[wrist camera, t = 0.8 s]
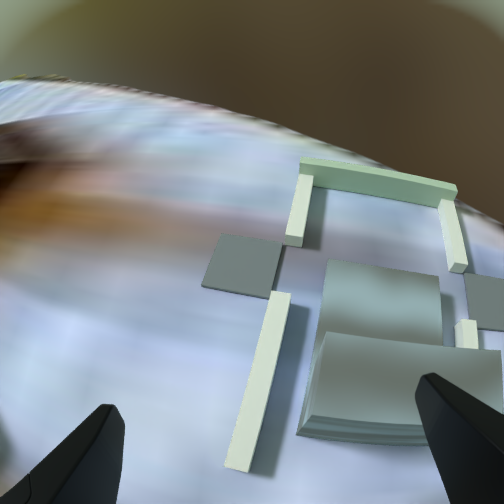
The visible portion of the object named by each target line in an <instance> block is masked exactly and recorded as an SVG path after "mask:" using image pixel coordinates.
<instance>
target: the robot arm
mask: <svg viewBox="0 0 504 504" xmlns="http://www.w3.org/2000/svg"><path fill="white" fill-rule="evenodd" d="M415 402H416V405H417V408H418V412H419V415H420V419H421V422H422V426H423V429H424V433H425V436H426V439H427V442H428V445H429V447H430V450H431V452H432V455H433V458H434V460H435V463H436V465H437V468H438V471H439V473H440V476H441V479H442V481H443V484H444V487H445V490H446V493H447V495H448V498H449V501H450V504H504V415H503V414H502V413H500V412H498V411H497V410H495V409H494V408H492V407H490V406H489V405H487V404H485V403H484V402H482V401H480V400H479V399H477V398H476V397H474V396H472V395H471V394H469V393H467V392H466V391H464V390H463V389H461V388H459V387H458V386H456V385H454V384H453V383H451V382H450V381H448V380H446V379H445V378H443V377H441V376H440V375H438V374H437V373H434V372H431V373H427V374H424V375H422V376H421V377H420V380H419V383H418V386H417V388H416V391H415ZM124 435H125V423H124V420H123V418H122V417H121V415H120V413H119V411H118V409H117V407H116V406H115V405H113V404H101V405H100V406H99V407H98V408H97V409H96V410H95V411H93V412H92V413H91V414H90V415H89V416H88V417H87V418H86V419H85V420H84V421H83V422H82V423H81V424H80V425H79V426H78V427H77V428H76V429H75V430H74V431H72V432H71V433H70V434H69V435H68V436H67V437H66V438H65V439H64V440H63V441H62V442H61V443H60V444H59V445H58V446H57V447H56V448H55V449H54V450H52V451H51V452H50V453H49V454H48V455H47V456H46V457H45V458H44V459H43V460H42V461H41V462H40V463H39V464H38V465H37V466H36V467H34V468H33V469H32V470H31V471H30V474H27V475H26V476H25V477H24V478H23V479H22V480H21V481H19V482H18V483H17V484H16V485H15V486H14V487H13V488H12V489H10V490H9V491H8V492H6V493H5V494H4V495H3V496H1V497H0V504H116V500H117V494H118V489H119V483H120V478H121V471H122V461H123V447H124Z"/></svg>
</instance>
